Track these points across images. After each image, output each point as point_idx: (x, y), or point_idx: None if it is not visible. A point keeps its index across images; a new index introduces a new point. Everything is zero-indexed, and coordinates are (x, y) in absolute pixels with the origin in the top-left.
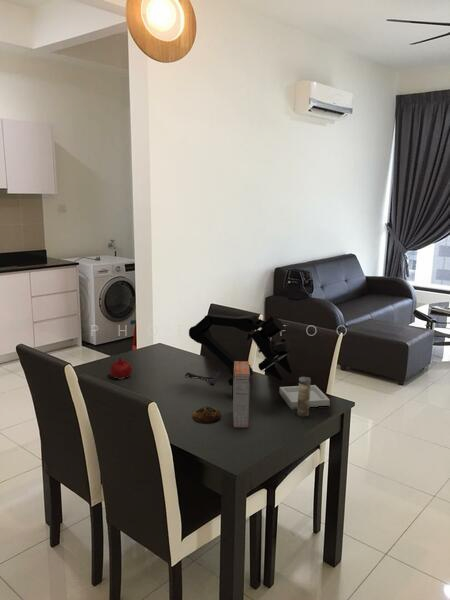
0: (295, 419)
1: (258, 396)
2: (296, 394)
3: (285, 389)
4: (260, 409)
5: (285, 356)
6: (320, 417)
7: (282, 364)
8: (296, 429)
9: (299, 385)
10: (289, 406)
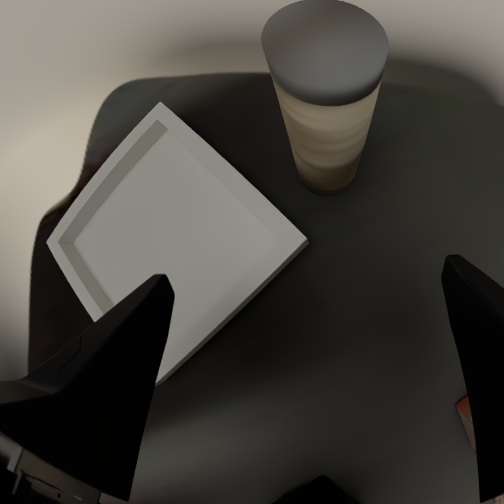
0: (401, 173)
1: (255, 452)
2: None
3: None
4: (400, 376)
5: (24, 437)
6: None
7: (127, 428)
8: (472, 133)
9: (375, 98)
10: (285, 265)
